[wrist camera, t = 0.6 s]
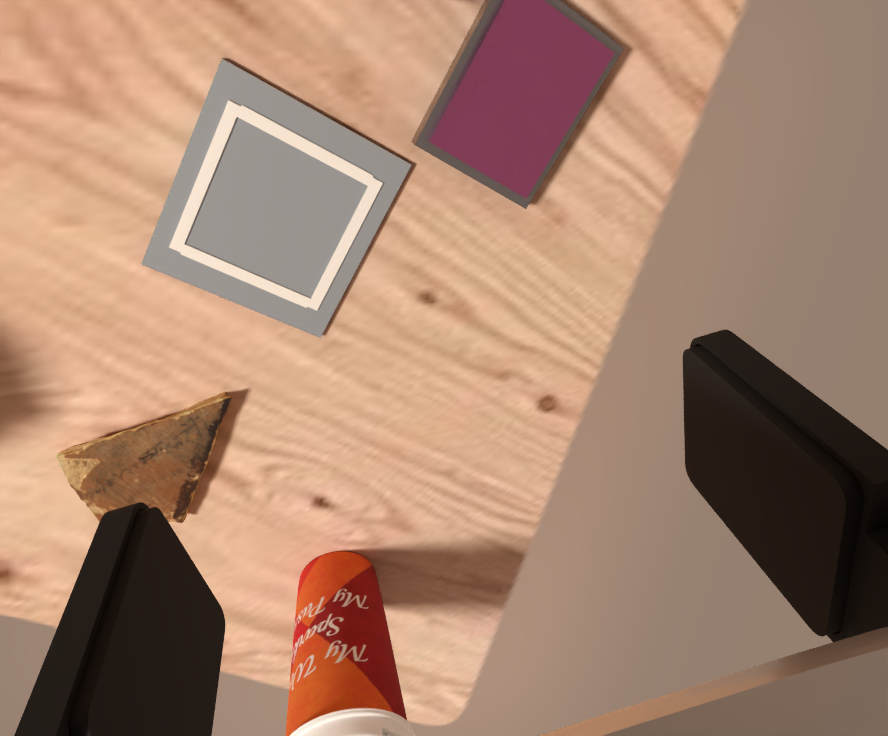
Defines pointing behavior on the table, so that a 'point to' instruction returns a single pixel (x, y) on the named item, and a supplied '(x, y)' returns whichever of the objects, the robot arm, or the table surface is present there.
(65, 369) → the table surface
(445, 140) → the ink pad
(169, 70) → the table surface
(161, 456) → the shard
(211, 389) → the table surface
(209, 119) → the marked card
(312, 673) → the paper cup
